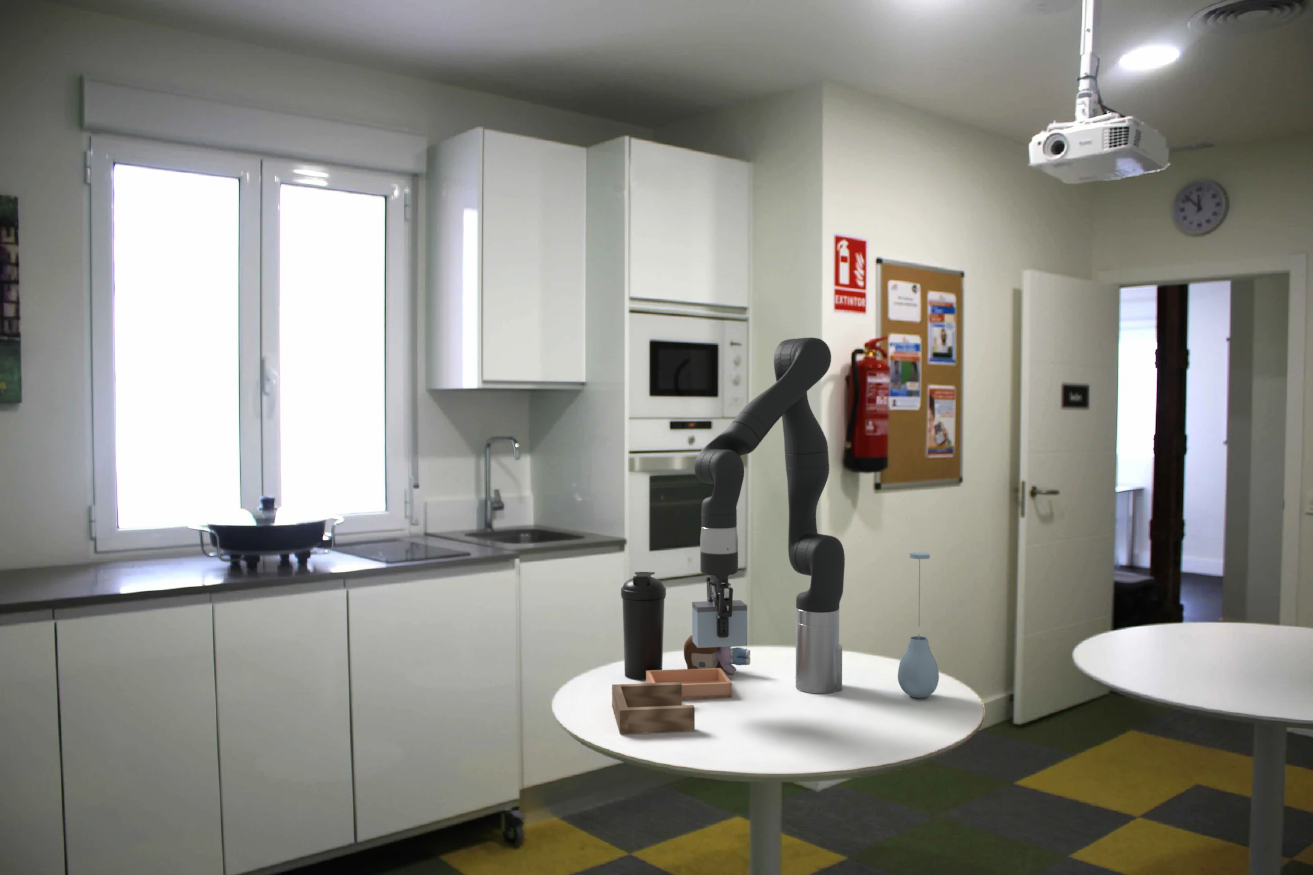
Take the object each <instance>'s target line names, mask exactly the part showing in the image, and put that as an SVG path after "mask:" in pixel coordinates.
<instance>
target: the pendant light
mask: <svg viewBox="0 0 1313 875" xmlns="http://www.w3.org/2000/svg"><path fill="white" fill-rule="evenodd" d="M930 555H931V554H930V553H928V552H920V551H919V552H916V551H915V552H909V558H910V559H913V560H914V559H915V560H919V561H918V562H919V564H918V626H921V625H920V622H921V619H920V617H921V616H920V609H921V608H920V607H921V606H920V604H921V601H920V600H921V595H920V594H921V592H920V591H921V588H920V587H921V582H920V581H921V560H929V559H930V558H931V556H930ZM939 672H940V671H939V667H938V664H937V661H936V658H935V657H934V655H933V653H932V651H931V647H930V644H929V640H928V638H927V637H926V636H923V635H922V636H920V635H917V636H914V635H913V636H910V637H909V641H908V645H907V648H906V651H905V652H904V653H903V655H902V656H901V658H900V661H899V665H898V671H897V681H898V684H899V686H900V688H901V689H902V690H901V691H903V692H904V693H905V695H908V696H910V697H912V698H917V699H921V698H927V697H929V696H931V695H933V693H934V692H935V691H936V690H937V687H938V684H939V681H940V674H939Z"/></svg>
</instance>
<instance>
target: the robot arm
mask: <svg viewBox="0 0 1313 875" xmlns="http://www.w3.org/2000/svg"><path fill="white" fill-rule="evenodd" d="M831 363H832V352H831V349H830V346H829V345H828V344H827V343H826V342H825V341H824V340H823V339H821V338H818V337H801V338H799V337H798V338H789V339H785V340H782V341H781V342H780V343H779V344H778V345H777V346H776V349H775V351H774V356H773V367H774V368H773V369H774V375H775V381H776V382H775V383H774V384H772V385H771V386H769V388H767V389H766V390H765V391H763V392H761V393H760V394H759V395H757V396H756V397H755V398H753V399H752V400H751V401H750V402H749V403H747V404H746V405H745V406H744V407H743V408H742V410H741V411H740V412H739V413H738V414H737V415H736V417H735V418H734V419H733V421H731V423H730V424H729V426H728V427H727V428H726V429H725V430H724V431H722V432H721V433H719V434H718V435H717V436H715V438H714V439H712V440H711V441H710V442H709V443H707V444H706V445H705V446H704V447H703V448H702V449H701V451H700V452H699V453H698V455H697V456H696V459H695V462H694V466H693V468H694V474H695V476H696V477H697V479H698V480H699V481H700V482H702V483H704V484H708V485H709V484H711V485H714V486H713V490H712V494H711V496H708V497H706V498H704V499H703V500H702V503H701V529H700V537H699V540H700V541H699V542H700V545H699V546H700V547H699V550H700V551H699V552H700V554H699V555H700V558H699V559H700V560H699V561H700V562H699V564H700V565H699V566H700V568H699V569H700V573H701V574H703V575H706V576H707V577H706V579H705V582H706V597H707V598H706V600H707V601H709V602H713V606H715V607H716V617H717V636H718V637H719V638H725V637H728V636H729V619H728V618H730V617H732V601H733V596H734V589H733V588H734V587H732V584H731V583H729V576H730V575H732V576H734V575H736V574H737V573H738V572H739V535H738V529H737V528H738V527H737V526H738V525H737V524H738V523H737V522H738V516H737V515H738V514H737V512H738V510H737V506H738V503H739V499H740V495H741V491H742V486H743V482H744V478H745V465H744V462H743V459H742V457H741V456H744V455H748V454H750V453H752V452H753V451H755V450H756V449H757V447H758V446H759V445H760V444H761V443H762V441H763V440H764V438H766V436H767V435H768V433H769V432H770V430H771V429H772V428H773V426H775V424H776V423H777V422H778V421H779V420H780V418H781V420H782V430H783V431H782V432H783V440H784V441H783V442H784V445H783V446H784V462H785V472H786V478H787V479H786V481H787V494H788V495H787V498H788V499H787V500H788V501H787V502H788V538H787V540H788V541H787V551H788V559H789V563H790V566H791V567H792V568H793V570H794V571H795V572H796V573H798V574H801V575H805V576H810V585H809V586H810V587H809V588H808V590H806V591H802V592H800V593H798V594H797V595H796V599H795V687H796V688H797V690H800V691H802V692H806V693H812V694H828V693H833V692H836V691H837V692H839V691H843V646H842V645H841V644H840V603H841V600H842V597H843V593H844V585H845V584H844V582H845V567H846V566H845V563H846V561H845V560H846V557H845V549H844V546H843V544H842V542H841V541H840V540H839V538H837V537H836V536H833V535H829V534H821V533H819V532H818V527H817V525H818V524H817V509H818V508H817V507H818V504H819V500H820V499H821V495H822V494H823V491H824V489H825V488H826V484H827V481H828V480H829V475H830V458H829V447H828V440H827V437H826V435H825V432H824V430H823V429H822V427H821V425H820V423H819V422H818V419H817V418H816V417H815V414H814V413H813V411H812V408H811V406H810V403H809V398H808V391H809V390H810V389H812V387H813V386H815V385H816V384H817V383H818V382H819V381H820V380H822V379H823V377H824V376H825V375H826V374H827V372H828V371H829V369H830V367H831ZM717 601H719V602H717ZM723 606H725V607H726V611H722V607H723Z"/></svg>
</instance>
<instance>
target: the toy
mask: <svg viewBox="0 0 1313 875" xmlns="http://www.w3.org/2000/svg"><path fill="white" fill-rule="evenodd" d="M683 658H684V661H685V663H686V669H706V668H721V669H722V670H725V671H726V672H727V673H728V674H730V675H735V674H736V672H737V668H736V667H735V666H749V665H750V664H751V650H750V649H748V648H744V647H733V646H729V647H707V648H697V646H696V645H695V644H694V643H693V641H692V634H690V636H689V637H688V638H687V639H686V640H685V642H684V645H683ZM734 665H735V666H734Z"/></svg>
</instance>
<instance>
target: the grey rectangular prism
mask: <svg viewBox="0 0 1313 875" xmlns="http://www.w3.org/2000/svg"><path fill="white" fill-rule="evenodd" d="M717 602H719V601H717ZM691 604H692V605H691V609H692V610H691V612H692V613H691V614H692V615H691V616H692V617H691V618H692V619H691V623H692V624H691V625H692V626H691V628H692V633H691V635H692V641H693V643H694V644H695V645H696V646H697V648H707V647H729V646H732V647H747V646H748V605H747V604H746V603H745V602H743V600H741V599H737V600H736V599H735V600H733V601H732V617H730V618H728V619H729V636H728V637H725V638H719V637H718V636H717V617H716V607H715V606H713V602H709V601H706V600H705V601H704V600H703V601H702V600H701V601H692V602H691ZM722 611H726V607H725V606H723V607H722Z"/></svg>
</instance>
